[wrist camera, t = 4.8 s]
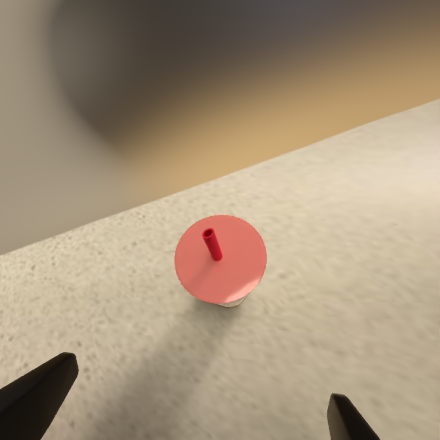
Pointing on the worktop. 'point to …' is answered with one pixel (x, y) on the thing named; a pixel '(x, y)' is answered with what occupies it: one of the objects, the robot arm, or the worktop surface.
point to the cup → (220, 259)
